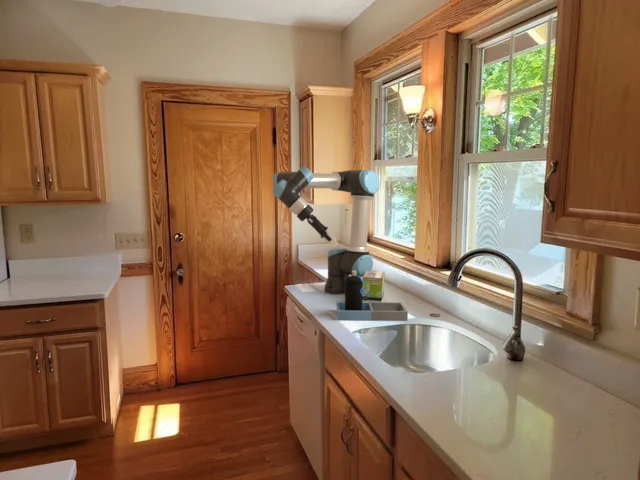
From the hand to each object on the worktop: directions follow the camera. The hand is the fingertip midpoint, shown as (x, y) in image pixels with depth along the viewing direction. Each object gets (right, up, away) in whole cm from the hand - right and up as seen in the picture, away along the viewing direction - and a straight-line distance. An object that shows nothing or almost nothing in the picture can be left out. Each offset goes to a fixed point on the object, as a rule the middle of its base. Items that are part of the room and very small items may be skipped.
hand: (335, 243), depth 194 cm
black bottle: (+8, -32, -1) cm, 33 cm away
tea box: (+19, -30, +18) cm, 39 cm away
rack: (+15, -32, -1) cm, 36 cm away
